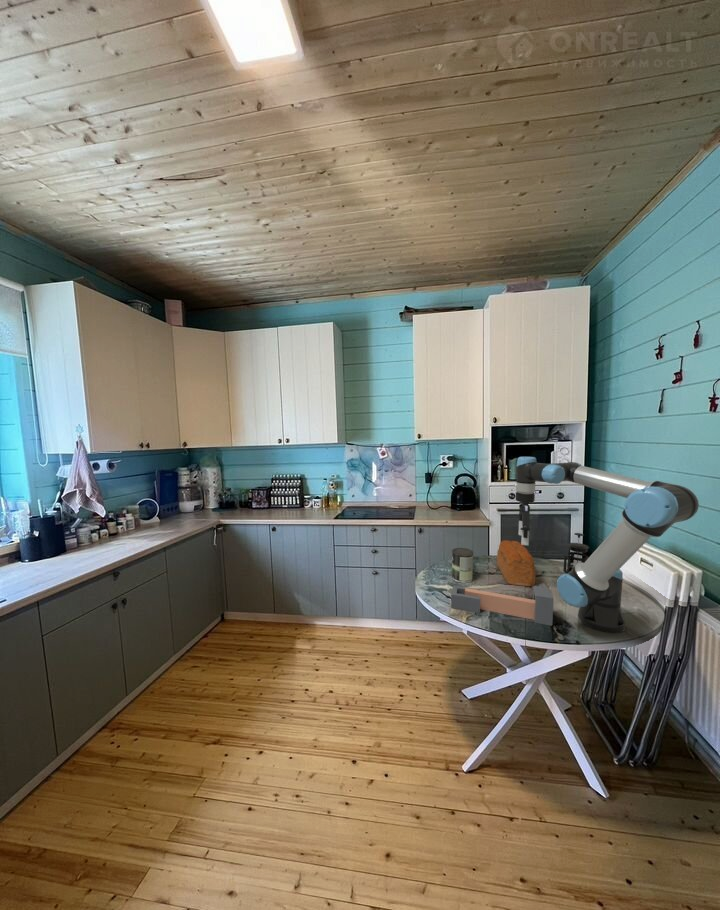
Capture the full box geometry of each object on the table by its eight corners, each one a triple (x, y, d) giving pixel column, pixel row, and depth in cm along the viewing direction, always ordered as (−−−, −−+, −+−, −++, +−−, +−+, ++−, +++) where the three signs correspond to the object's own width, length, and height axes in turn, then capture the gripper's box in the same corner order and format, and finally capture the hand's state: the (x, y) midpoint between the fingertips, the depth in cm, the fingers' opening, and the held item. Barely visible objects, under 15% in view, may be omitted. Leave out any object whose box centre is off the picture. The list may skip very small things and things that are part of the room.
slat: (536, 617, 142) (537, 600, 141) (537, 620, 139) (538, 604, 139) (465, 603, 153) (465, 587, 152) (464, 606, 150) (464, 590, 150)
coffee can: (448, 580, 175) (449, 552, 174) (454, 572, 184) (455, 546, 183) (469, 584, 170) (470, 556, 169) (474, 577, 179) (475, 550, 178)
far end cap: (480, 602, 153) (480, 589, 152) (479, 613, 144) (480, 599, 144) (452, 598, 157) (453, 585, 156) (450, 608, 148) (451, 594, 148)
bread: (521, 565, 194) (522, 538, 193) (537, 587, 168) (538, 556, 166) (495, 563, 196) (496, 537, 195) (506, 585, 170) (507, 554, 169)
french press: (581, 574, 182) (583, 530, 180) (593, 582, 173) (596, 536, 171) (558, 574, 182) (560, 530, 180) (569, 582, 173) (572, 536, 171)
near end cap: (548, 613, 144) (549, 588, 143) (552, 625, 136) (553, 598, 135) (532, 611, 146) (533, 585, 145) (534, 622, 138) (536, 595, 137)
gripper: (513, 486, 166) (511, 530, 168) (518, 497, 142) (516, 548, 144) (531, 487, 163) (529, 532, 165) (538, 498, 140) (536, 550, 142)
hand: (523, 539), depth 155 cm, fingers open, 13 cm apart
